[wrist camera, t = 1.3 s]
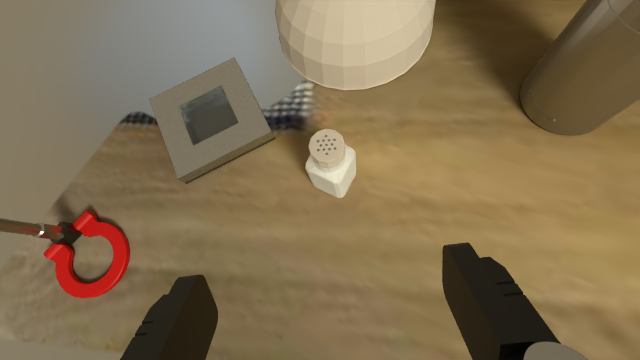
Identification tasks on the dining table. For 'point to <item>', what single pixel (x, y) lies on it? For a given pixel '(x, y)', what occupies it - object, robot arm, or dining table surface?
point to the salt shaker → (330, 162)
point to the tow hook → (64, 254)
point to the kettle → (353, 39)
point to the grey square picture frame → (210, 121)
